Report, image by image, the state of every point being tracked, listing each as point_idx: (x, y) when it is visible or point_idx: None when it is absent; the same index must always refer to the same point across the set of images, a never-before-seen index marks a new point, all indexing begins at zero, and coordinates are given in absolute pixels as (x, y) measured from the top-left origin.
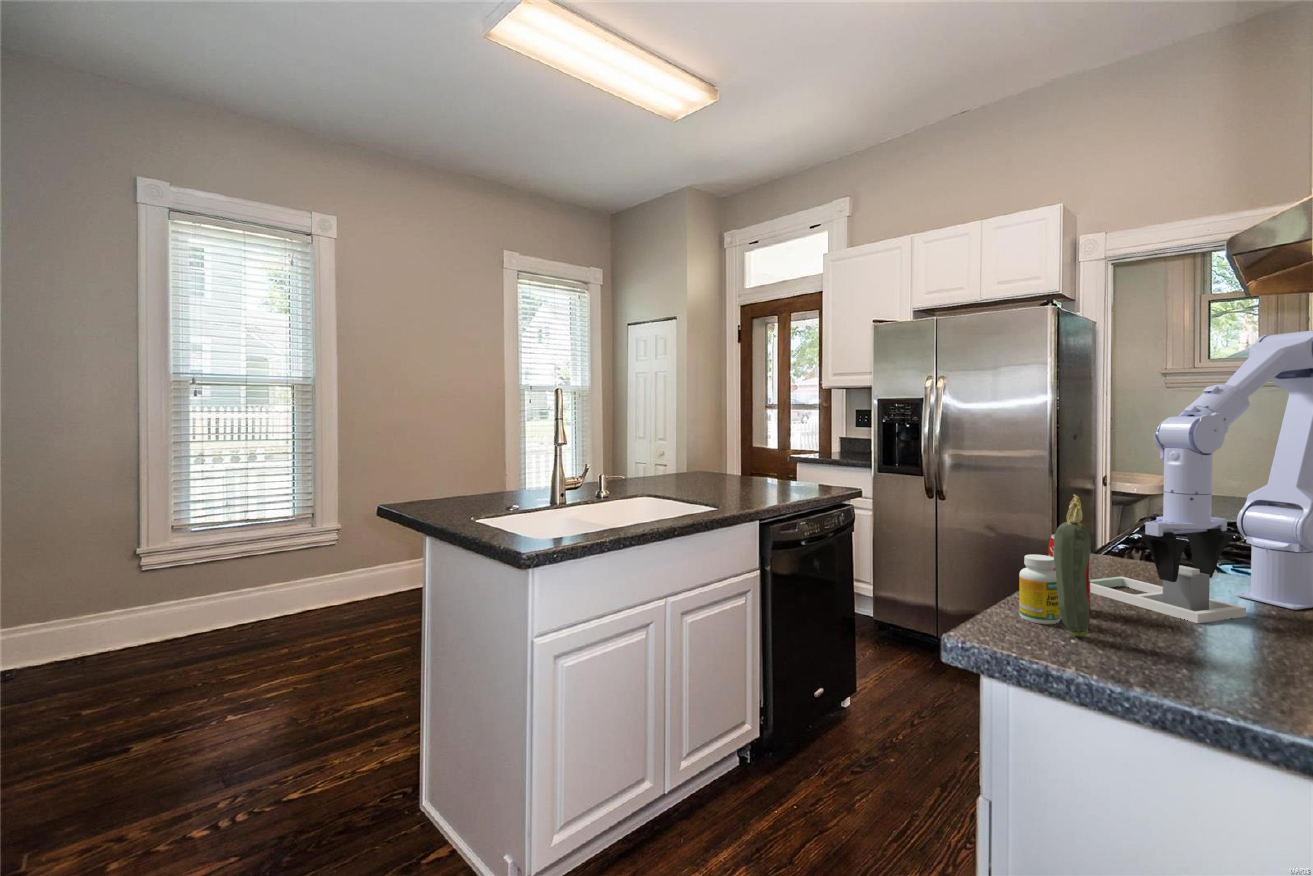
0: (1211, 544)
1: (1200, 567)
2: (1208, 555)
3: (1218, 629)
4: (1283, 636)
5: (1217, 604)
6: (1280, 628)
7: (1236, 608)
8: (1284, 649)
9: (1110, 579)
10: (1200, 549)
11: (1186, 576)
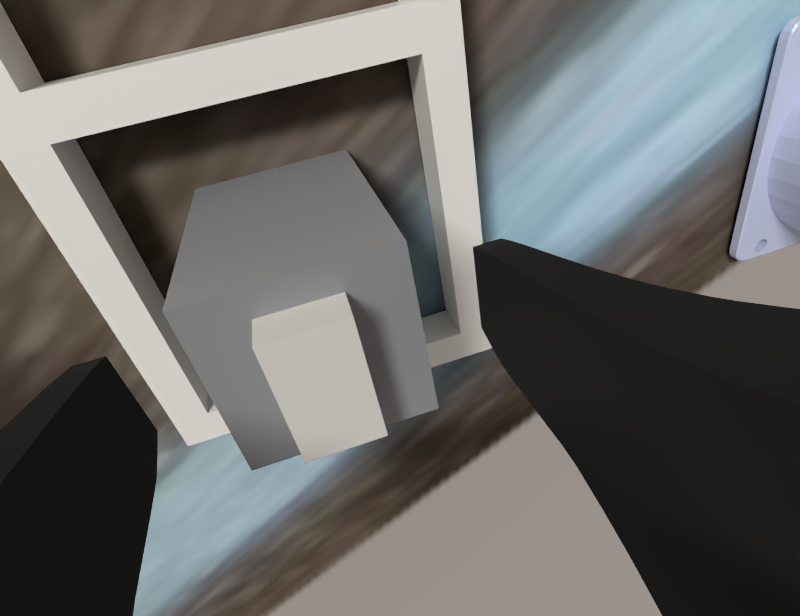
0: (661, 555)
1: (508, 316)
2: (580, 436)
3: (228, 459)
4: (390, 487)
5: (449, 270)
6: (460, 426)
7: (441, 361)
8: (286, 571)
9: None
10: (616, 417)
11: (241, 449)
